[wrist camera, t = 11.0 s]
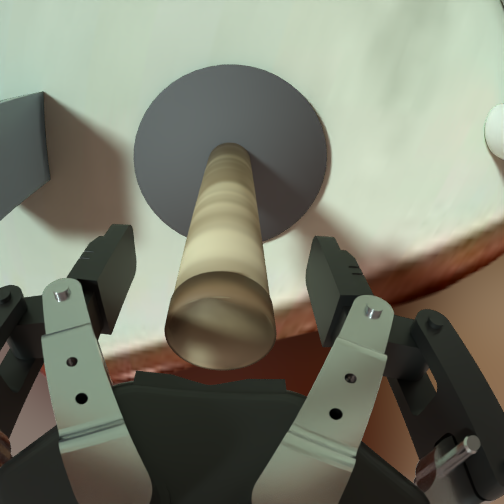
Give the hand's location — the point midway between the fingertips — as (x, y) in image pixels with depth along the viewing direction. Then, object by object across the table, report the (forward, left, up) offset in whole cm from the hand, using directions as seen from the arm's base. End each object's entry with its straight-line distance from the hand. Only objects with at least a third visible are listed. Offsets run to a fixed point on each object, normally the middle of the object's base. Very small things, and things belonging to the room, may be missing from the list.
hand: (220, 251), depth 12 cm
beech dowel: (0, 0, -12) cm, 12 cm away
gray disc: (0, 0, -13) cm, 13 cm away
